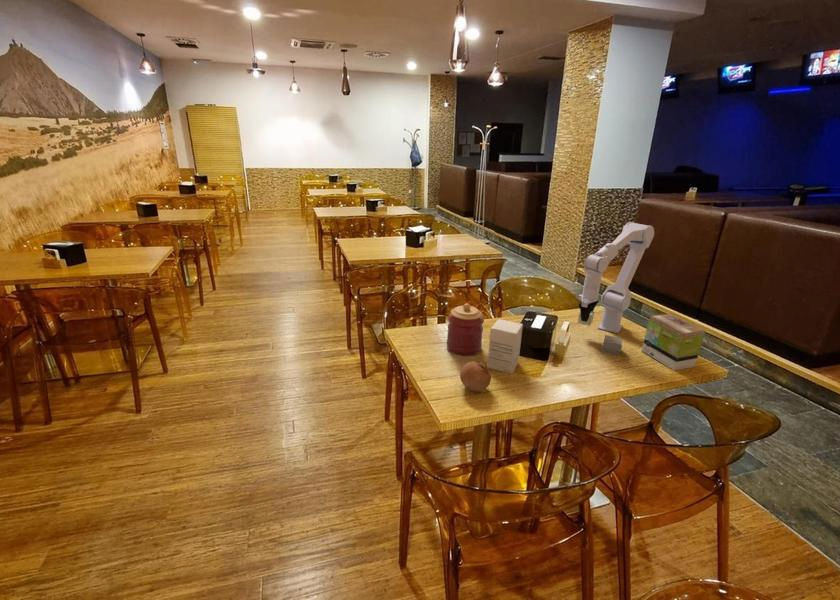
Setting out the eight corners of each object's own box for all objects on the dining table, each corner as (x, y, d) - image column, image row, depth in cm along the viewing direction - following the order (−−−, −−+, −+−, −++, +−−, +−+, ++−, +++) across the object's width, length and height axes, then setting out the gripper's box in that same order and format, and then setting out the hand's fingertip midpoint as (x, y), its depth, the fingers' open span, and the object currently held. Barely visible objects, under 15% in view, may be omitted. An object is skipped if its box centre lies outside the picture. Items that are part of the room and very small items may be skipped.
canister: (473, 359, 148) (476, 313, 142) (440, 350, 154) (442, 305, 148) (486, 345, 159) (490, 301, 153) (455, 337, 165) (458, 294, 159)
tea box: (640, 351, 158) (648, 315, 153) (660, 348, 161) (670, 312, 156) (673, 371, 145) (684, 332, 140) (695, 367, 148) (707, 329, 143)
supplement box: (494, 356, 151) (497, 318, 146) (518, 362, 147) (523, 323, 142) (486, 367, 143) (490, 327, 138) (512, 374, 140) (517, 333, 134)
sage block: (580, 319, 170) (582, 309, 168) (592, 322, 167) (594, 311, 166) (577, 323, 166) (579, 312, 165) (589, 325, 164) (591, 315, 162)
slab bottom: (604, 346, 162) (605, 340, 161) (620, 351, 159) (622, 345, 158) (600, 352, 157) (601, 346, 157) (617, 357, 154) (618, 351, 153)
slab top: (603, 340, 161) (605, 334, 160) (621, 344, 158) (622, 338, 158) (602, 347, 156) (603, 341, 155) (620, 351, 153) (621, 344, 152)
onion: (485, 396, 133) (503, 373, 129) (468, 401, 126) (486, 376, 122) (466, 375, 138) (482, 352, 134) (448, 378, 131) (465, 354, 127)
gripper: (586, 279, 169) (580, 310, 174) (575, 288, 158) (570, 322, 163) (604, 282, 165) (598, 314, 170) (595, 293, 154) (589, 326, 159)
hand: (585, 318), depth 166 cm, fingers closed on sage block, 4 cm apart
